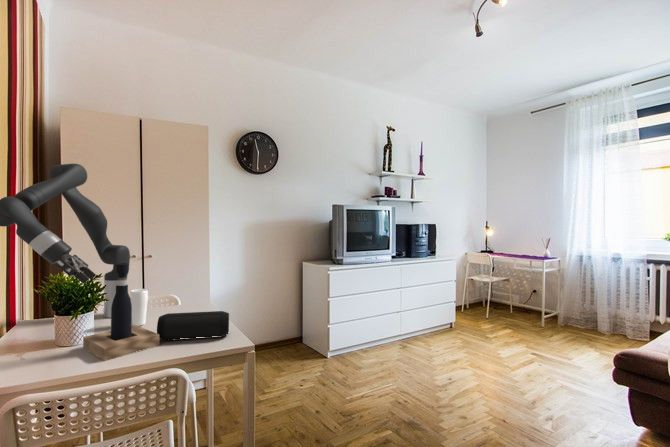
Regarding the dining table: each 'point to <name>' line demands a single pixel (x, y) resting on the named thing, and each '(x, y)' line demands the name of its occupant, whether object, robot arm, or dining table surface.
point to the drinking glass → (139, 306)
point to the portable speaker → (193, 325)
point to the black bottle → (121, 306)
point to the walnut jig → (120, 343)
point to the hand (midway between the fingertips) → (90, 279)
